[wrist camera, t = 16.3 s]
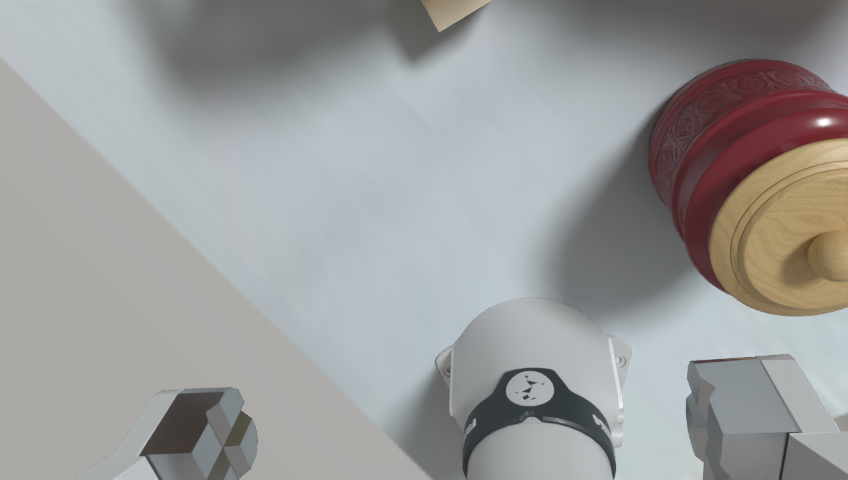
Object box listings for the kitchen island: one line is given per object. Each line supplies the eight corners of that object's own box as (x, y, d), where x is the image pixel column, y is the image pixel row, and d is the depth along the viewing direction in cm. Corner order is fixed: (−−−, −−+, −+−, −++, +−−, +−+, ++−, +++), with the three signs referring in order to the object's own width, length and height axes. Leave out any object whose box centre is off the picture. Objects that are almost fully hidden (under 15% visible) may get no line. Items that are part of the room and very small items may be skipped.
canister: (609, 141, 46) (660, 266, 31) (763, 13, 41) (917, 90, 26) (710, 245, 50) (800, 401, 35) (865, 140, 44) (1053, 274, 29)
